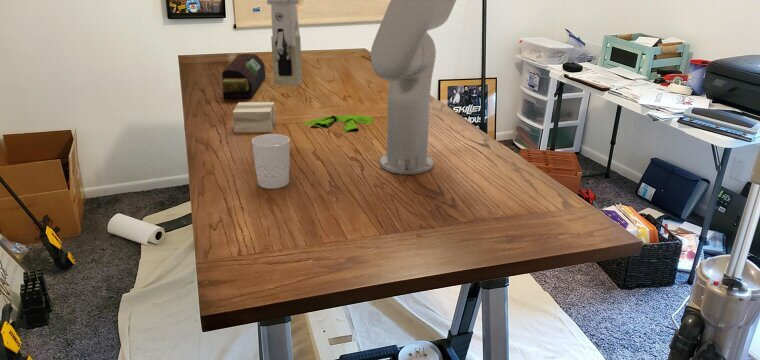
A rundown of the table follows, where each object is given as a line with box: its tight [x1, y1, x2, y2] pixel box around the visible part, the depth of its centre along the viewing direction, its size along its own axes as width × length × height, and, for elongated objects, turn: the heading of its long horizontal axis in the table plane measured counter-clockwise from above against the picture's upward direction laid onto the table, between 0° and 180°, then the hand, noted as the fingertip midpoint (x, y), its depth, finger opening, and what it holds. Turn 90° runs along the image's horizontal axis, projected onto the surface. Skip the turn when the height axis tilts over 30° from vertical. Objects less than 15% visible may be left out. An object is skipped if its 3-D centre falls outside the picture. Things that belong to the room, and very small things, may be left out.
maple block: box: [232, 101, 276, 133], centre depth 158 cm, size 10×10×6 cm
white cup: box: [251, 133, 291, 190], centre depth 121 cm, size 8×8×10 cm
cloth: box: [301, 114, 375, 133], centre depth 162 cm, size 20×22×2 cm
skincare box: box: [270, 34, 303, 88], centre depth 140 cm, size 6×4×12 cm
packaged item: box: [221, 53, 266, 99], centre depth 199 cm, size 39×10×10 cm, turn 2°
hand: (287, 72), depth 141 cm, fingers closed on skincare box, 5 cm apart
